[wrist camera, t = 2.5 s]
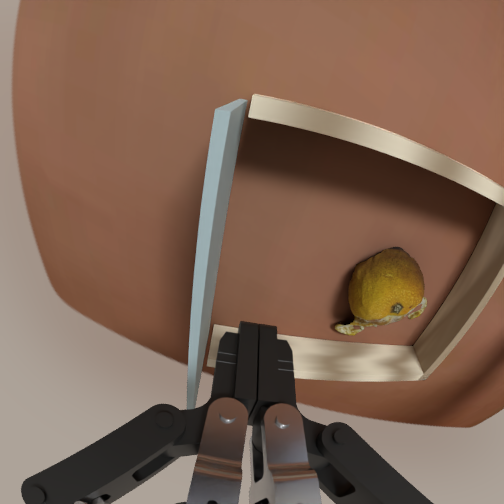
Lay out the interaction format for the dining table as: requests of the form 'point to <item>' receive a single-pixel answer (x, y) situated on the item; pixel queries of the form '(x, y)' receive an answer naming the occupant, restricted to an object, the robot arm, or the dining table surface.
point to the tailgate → (212, 232)
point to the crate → (459, 299)
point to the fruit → (384, 290)
